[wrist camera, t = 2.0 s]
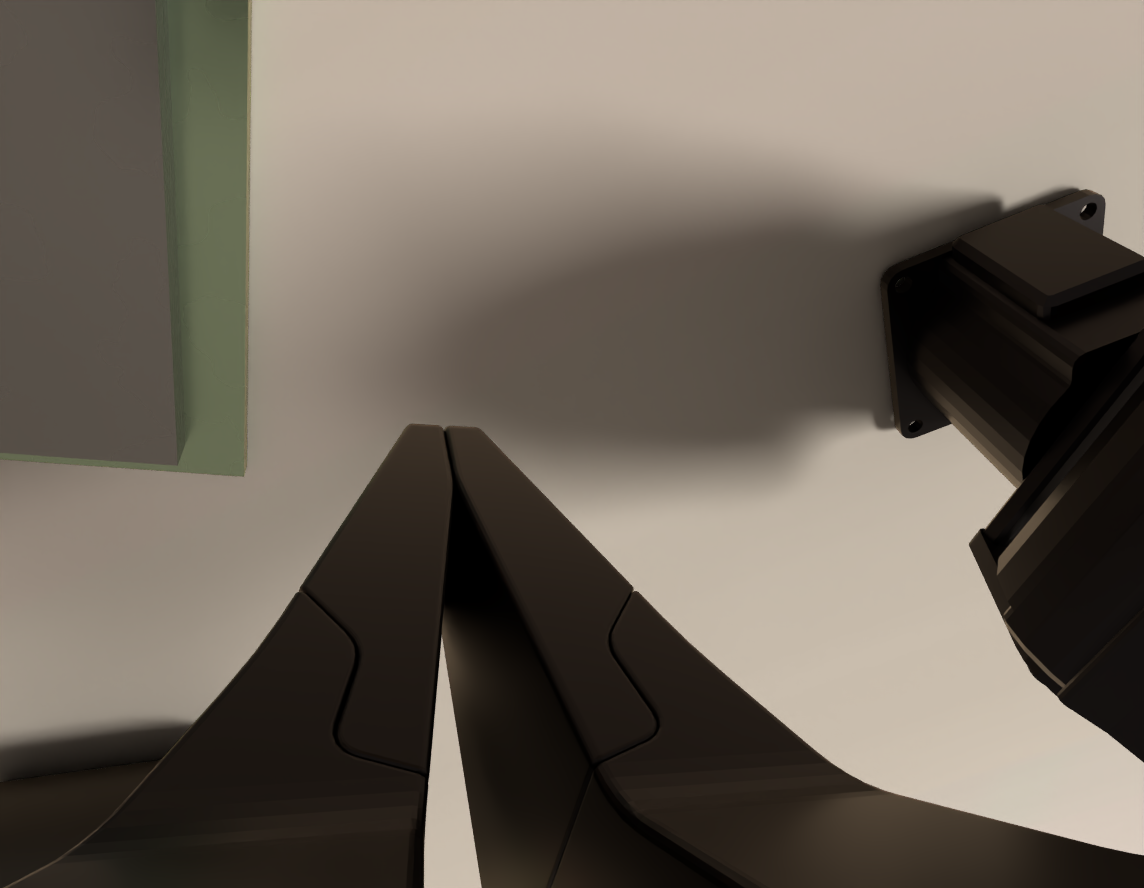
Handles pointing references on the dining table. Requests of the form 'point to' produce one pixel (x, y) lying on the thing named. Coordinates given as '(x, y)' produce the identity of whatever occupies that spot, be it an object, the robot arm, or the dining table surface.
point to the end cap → (58, 813)
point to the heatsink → (125, 233)
